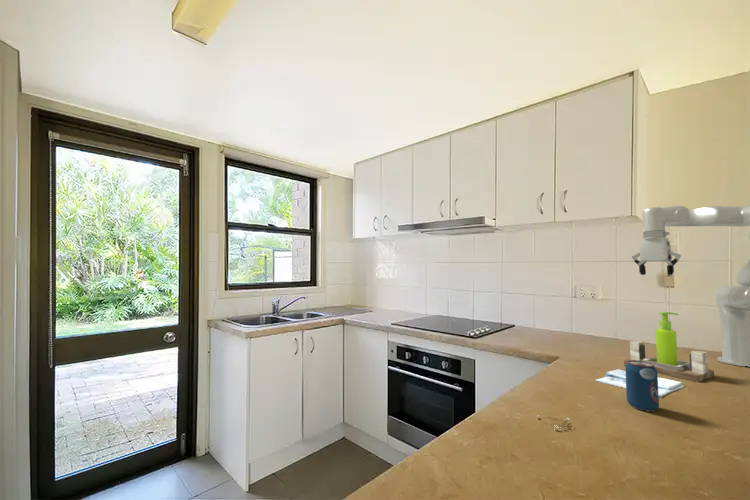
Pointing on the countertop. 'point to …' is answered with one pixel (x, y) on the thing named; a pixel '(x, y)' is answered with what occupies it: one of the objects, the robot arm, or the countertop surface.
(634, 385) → the soda can
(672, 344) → the soap dispenser
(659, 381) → the folded white towel
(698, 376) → the rail
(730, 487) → the countertop surface
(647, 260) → the robot arm
